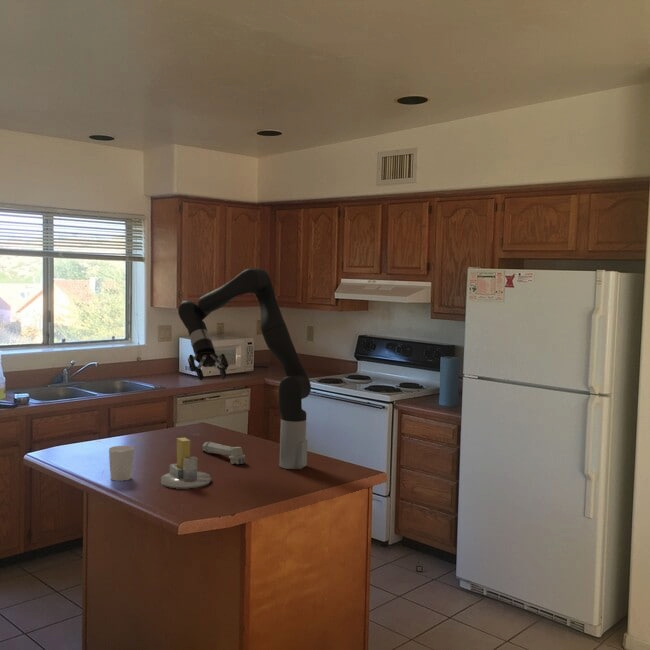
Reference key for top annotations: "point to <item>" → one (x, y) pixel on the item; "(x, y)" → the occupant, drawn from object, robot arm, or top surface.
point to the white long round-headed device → (225, 451)
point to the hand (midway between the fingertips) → (213, 378)
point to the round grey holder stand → (185, 476)
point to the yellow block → (182, 451)
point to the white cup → (121, 462)
